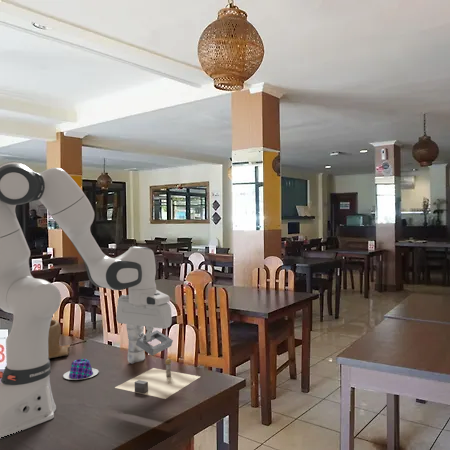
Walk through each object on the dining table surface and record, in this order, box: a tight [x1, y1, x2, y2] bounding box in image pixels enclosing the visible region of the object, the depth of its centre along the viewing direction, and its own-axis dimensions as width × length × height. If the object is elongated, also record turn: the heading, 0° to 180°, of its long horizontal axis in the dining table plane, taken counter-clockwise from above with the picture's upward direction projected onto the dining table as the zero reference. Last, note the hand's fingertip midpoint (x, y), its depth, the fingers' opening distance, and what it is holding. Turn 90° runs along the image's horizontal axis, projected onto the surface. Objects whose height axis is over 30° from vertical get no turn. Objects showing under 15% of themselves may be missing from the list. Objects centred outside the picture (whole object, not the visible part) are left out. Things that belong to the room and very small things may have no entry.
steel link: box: [136, 330, 174, 356], centre depth 144 cm, size 10×7×2 cm
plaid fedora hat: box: [62, 358, 100, 381], centre depth 157 cm, size 12×12×5 cm
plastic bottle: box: [125, 324, 146, 365], centre depth 168 cm, size 6×7×20 cm
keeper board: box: [114, 358, 201, 400], centre depth 145 cm, size 20×20×8 cm
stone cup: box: [48, 319, 71, 360], centre depth 178 cm, size 15×12×15 cm
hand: (143, 339), depth 143 cm, fingers closed on steel link, 1 cm apart
